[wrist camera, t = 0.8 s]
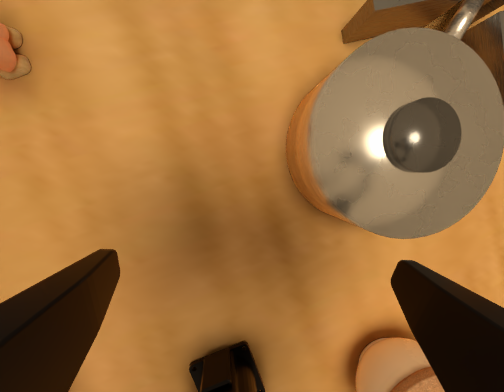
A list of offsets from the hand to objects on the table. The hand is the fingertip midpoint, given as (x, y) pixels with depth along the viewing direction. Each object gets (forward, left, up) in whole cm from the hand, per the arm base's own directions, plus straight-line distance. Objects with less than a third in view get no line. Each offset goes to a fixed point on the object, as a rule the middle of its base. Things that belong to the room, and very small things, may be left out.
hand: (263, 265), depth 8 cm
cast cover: (+1, -14, -17) cm, 22 cm away
